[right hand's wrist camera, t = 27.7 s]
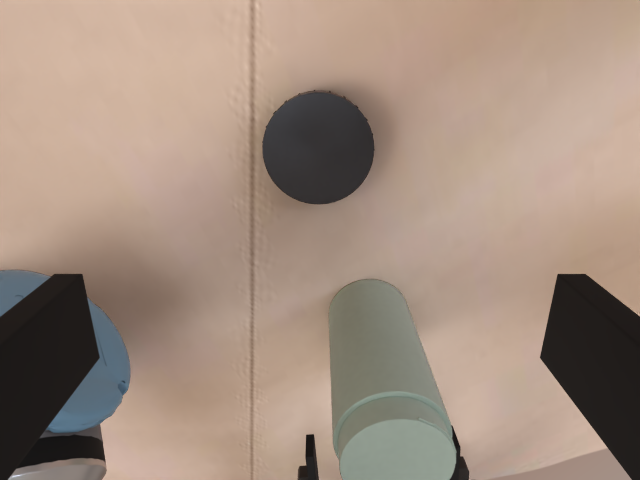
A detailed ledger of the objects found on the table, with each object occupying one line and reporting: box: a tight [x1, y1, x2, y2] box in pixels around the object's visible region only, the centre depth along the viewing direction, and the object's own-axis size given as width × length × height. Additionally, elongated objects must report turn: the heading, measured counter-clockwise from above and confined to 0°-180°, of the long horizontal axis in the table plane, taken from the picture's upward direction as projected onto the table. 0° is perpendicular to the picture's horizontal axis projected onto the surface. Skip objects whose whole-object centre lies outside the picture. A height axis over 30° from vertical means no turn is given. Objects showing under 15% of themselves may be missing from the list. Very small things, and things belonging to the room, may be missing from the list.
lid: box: [262, 90, 374, 204], centre depth 39 cm, size 10×10×2 cm
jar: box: [329, 279, 457, 480], centre depth 38 cm, size 8×8×19 cm
